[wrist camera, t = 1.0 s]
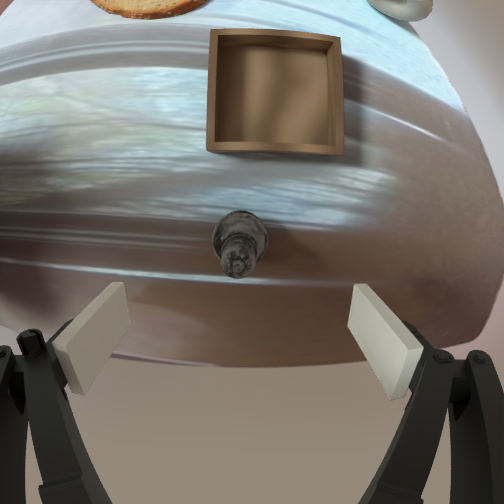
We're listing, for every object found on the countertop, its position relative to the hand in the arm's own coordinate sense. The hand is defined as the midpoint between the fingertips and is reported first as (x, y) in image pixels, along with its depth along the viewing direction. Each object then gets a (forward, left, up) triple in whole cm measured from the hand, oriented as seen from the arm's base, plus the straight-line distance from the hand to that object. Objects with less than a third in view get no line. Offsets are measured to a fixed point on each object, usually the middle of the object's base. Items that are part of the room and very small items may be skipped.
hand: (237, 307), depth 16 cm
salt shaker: (0, 0, -18) cm, 18 cm away
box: (+3, +16, -18) cm, 24 cm away
